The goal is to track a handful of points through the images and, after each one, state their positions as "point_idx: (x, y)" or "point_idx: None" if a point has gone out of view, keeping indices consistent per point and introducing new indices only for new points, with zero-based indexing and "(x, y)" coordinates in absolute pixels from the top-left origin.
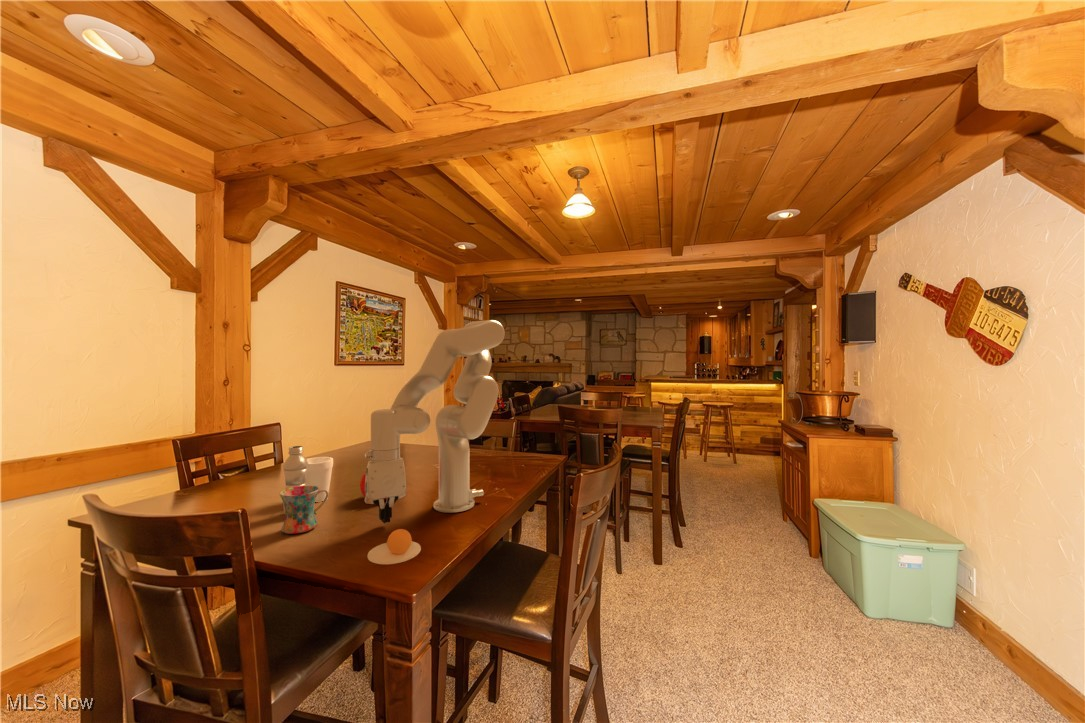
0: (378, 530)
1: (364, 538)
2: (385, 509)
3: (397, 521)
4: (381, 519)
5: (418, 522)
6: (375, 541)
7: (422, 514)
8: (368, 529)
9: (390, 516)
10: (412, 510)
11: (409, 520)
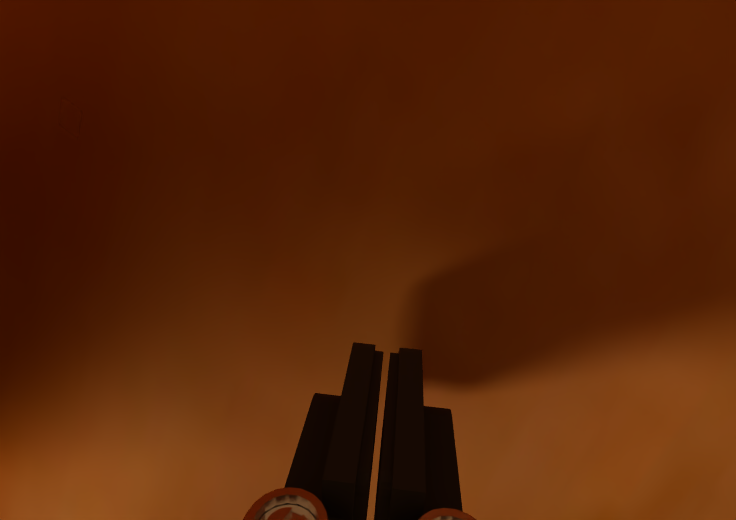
0: (475, 322)
1: (684, 224)
2: (404, 478)
3: (254, 396)
4: (437, 408)
5: (83, 251)
6: (651, 49)
7: (22, 395)
8: (534, 400)
9: (329, 399)
10: (89, 510)
11: (153, 350)
